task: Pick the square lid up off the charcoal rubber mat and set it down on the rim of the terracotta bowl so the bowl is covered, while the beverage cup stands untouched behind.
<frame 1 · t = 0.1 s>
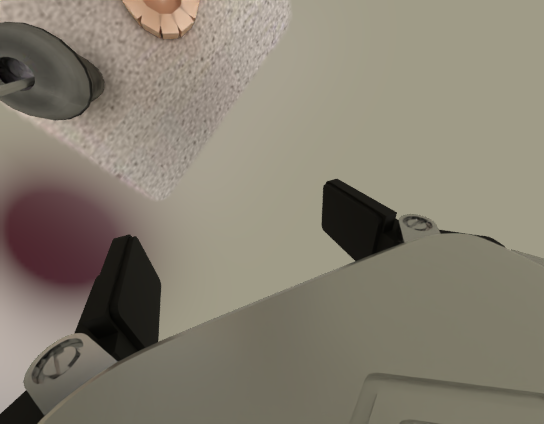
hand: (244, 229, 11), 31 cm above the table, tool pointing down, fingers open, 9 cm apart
beverage cup: (83, 78, 28), on the table
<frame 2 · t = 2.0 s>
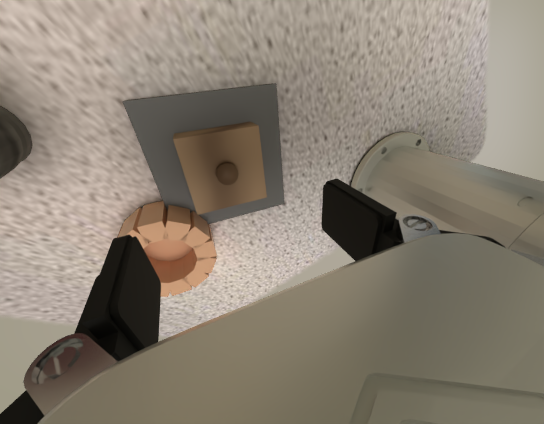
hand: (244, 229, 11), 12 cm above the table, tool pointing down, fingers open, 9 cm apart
lid: (222, 164, 20), point 1 cm above the table, touching mat
mat: (220, 161, 21), on the table
bowl: (169, 237, 23), on the table
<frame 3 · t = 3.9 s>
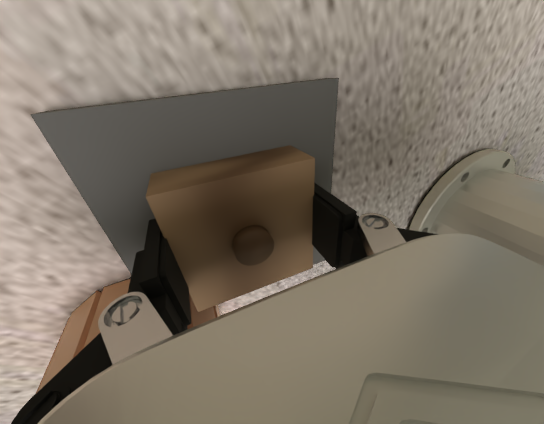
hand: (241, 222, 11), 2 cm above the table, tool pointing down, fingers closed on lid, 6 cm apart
lid: (238, 216, 12), point 1 cm above the table, touching gripper, mat
mat: (234, 208, 13), on the table
bowl: (151, 323, 15), on the table
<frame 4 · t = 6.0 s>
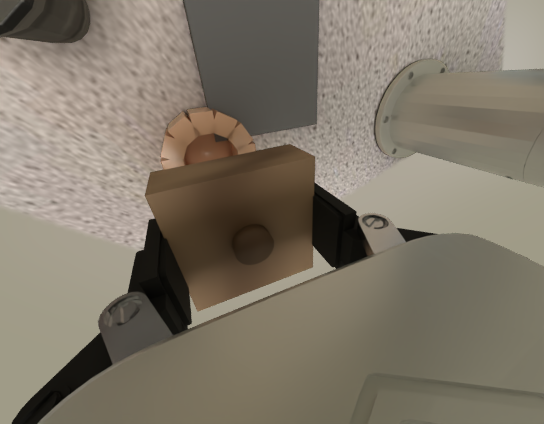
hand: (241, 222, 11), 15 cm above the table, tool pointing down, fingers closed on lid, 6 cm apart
lid: (238, 215, 12), point 14 cm above the table, touching gripper
beverage cup: (50, 3, 15), on the table
mat: (260, 68, 22), on the table
bowl: (207, 151, 24), on the table
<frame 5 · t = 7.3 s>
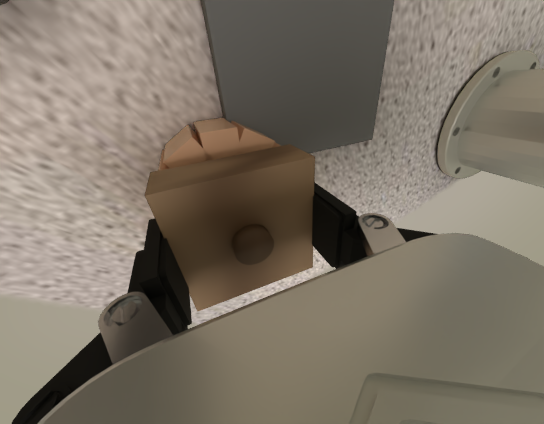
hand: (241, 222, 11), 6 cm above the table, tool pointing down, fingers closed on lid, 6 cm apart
lid: (238, 215, 12), point 5 cm above the table, touching gripper
mat: (303, 60, 14), on the table
bowl: (222, 180, 16), on the table
when the fingers open (6 cm above the table, at t = 8.2 s): lid drops 1 cm, resting on bowl.
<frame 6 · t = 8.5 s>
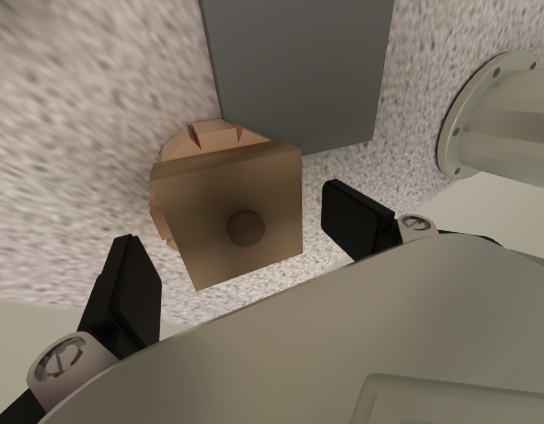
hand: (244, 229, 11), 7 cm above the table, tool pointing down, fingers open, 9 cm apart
lid: (233, 205, 13), point 4 cm above the table, touching bowl
mat: (303, 60, 14), on the table
bowl: (220, 181, 16), on the table
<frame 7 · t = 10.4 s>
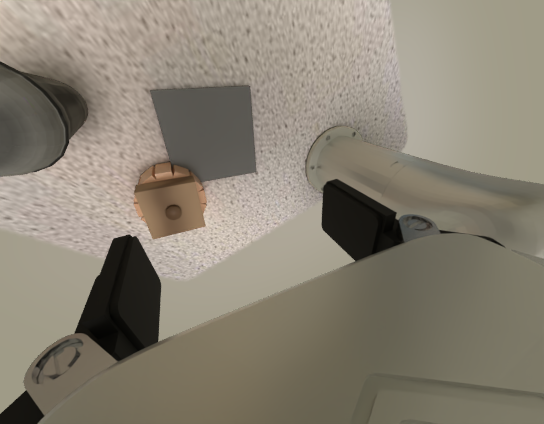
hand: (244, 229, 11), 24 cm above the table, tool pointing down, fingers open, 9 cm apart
lid: (172, 202, 29), point 4 cm above the table, touching bowl
beverage cup: (61, 105, 23), on the table
mat: (211, 136, 31), on the table
bowl: (171, 191, 32), on the table
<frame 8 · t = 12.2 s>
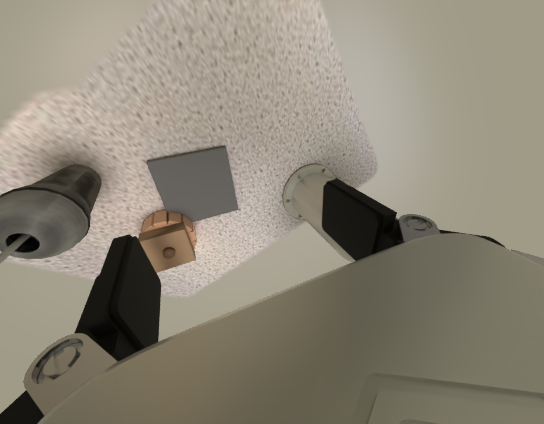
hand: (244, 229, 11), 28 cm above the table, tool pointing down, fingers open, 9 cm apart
lid: (169, 243, 36), point 4 cm above the table, touching bowl
beverage cup: (82, 179, 31), on the table
mat: (197, 186, 38), on the table
bowl: (169, 230, 40), on the table
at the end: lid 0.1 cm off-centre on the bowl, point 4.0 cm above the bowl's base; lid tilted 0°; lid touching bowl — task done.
